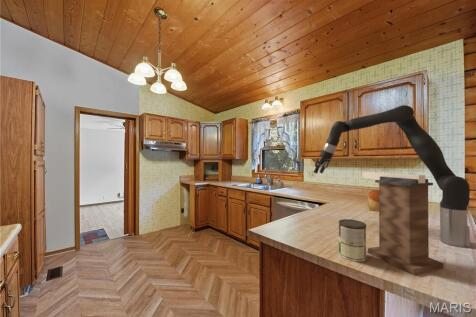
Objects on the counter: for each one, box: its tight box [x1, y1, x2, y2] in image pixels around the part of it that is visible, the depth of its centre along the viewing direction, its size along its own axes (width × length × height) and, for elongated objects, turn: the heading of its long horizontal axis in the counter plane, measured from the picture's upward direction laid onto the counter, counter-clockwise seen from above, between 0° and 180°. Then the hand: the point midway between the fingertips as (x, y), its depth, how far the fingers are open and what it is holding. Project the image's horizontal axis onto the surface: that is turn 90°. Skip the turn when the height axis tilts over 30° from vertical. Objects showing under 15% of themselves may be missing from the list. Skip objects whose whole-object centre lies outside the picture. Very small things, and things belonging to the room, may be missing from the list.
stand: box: [367, 177, 445, 276], centre depth 83 cm, size 18×16×34 cm
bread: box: [367, 189, 379, 213], centre depth 174 cm, size 25×12×15 cm, turn 150°
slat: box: [362, 171, 426, 183], centre depth 88 cm, size 24×4×3 cm, turn 16°
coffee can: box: [338, 218, 367, 263], centre depth 86 cm, size 10×10×14 cm
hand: (318, 172), depth 138 cm, fingers open, 8 cm apart
